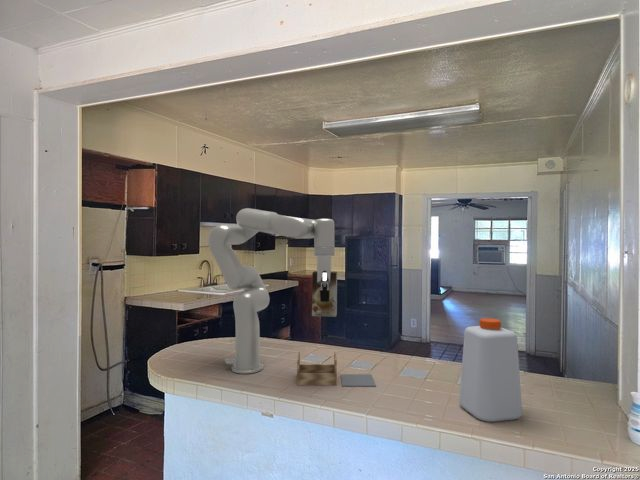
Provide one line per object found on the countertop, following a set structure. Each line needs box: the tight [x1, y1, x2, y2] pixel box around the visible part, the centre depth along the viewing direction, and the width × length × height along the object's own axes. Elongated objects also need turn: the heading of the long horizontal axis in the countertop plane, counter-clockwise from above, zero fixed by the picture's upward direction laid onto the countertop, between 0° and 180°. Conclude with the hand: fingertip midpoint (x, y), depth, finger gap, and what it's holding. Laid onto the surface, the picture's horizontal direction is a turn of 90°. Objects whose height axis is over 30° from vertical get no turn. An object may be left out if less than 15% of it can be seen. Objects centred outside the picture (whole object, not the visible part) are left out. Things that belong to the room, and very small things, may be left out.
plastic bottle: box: [458, 317, 523, 423], centre depth 123 cm, size 15×15×28 cm
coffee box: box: [311, 270, 338, 318], centre depth 150 cm, size 9×6×16 cm
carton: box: [296, 351, 338, 386], centre depth 150 cm, size 14×11×9 cm
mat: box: [339, 373, 377, 388], centre depth 149 cm, size 12×12×1 cm
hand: (324, 299), depth 150 cm, fingers closed on coffee box, 6 cm apart
